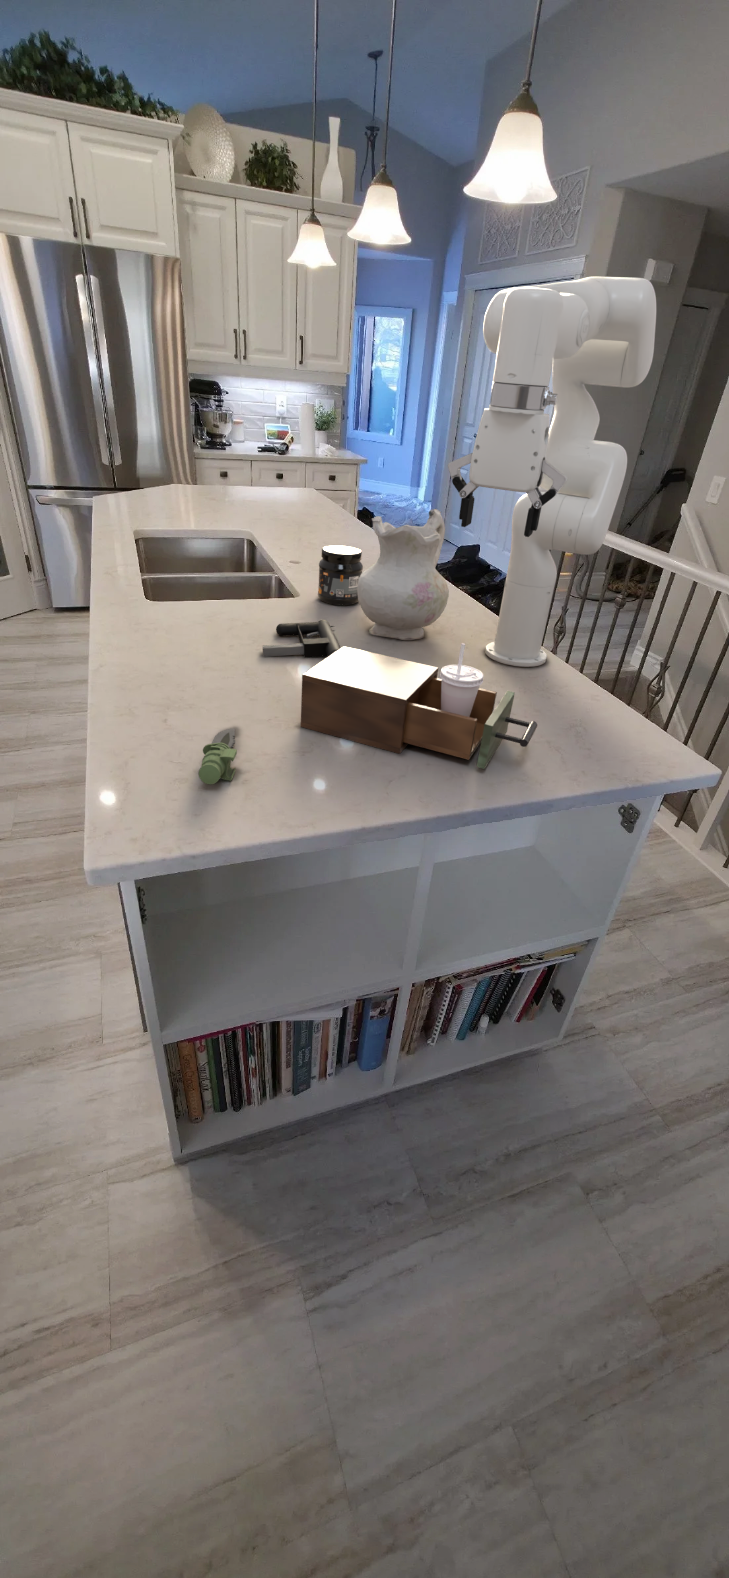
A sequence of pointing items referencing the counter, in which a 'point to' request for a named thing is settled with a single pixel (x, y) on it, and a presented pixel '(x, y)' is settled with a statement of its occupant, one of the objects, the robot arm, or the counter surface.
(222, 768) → the knife
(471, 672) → the smoothie
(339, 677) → the cabinet
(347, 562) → the supplement container
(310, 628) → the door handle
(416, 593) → the ceramic pitcher
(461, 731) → the drawer
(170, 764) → the counter surface
